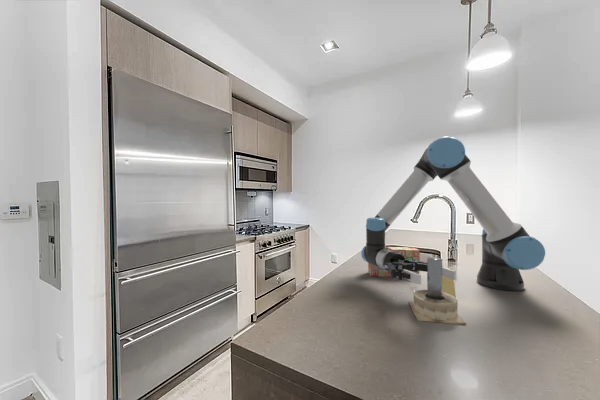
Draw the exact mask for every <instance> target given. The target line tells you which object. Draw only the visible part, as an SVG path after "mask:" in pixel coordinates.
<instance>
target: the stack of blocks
mask: <svg viewBox="0 0 600 400" xmlns="http://www.w3.org/2000/svg"><path fill="white" fill-rule="evenodd" d="M387 250H390V251H393V252H396V253H400V254H402V255H403V256H404V258H405V259H407V260H410V261H413V260H418V261H421V260H420V259H421V257H420V249H418V248H415V247H408V246H396V247H395V246H393V247H392V246H388V247H387ZM367 269H368V270H367V272H368V274H369V273H370V274H369V275H370V276H371V277H387V276H391V275H390V274H389V272H388V271H385V269H382V268H380V267H377V266H375V265H372V264H369V263H368V262H367ZM413 269H415V267H413ZM411 272H414V271H411ZM414 273H417V274H419V275H420V271H417V272H414Z"/></svg>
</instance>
